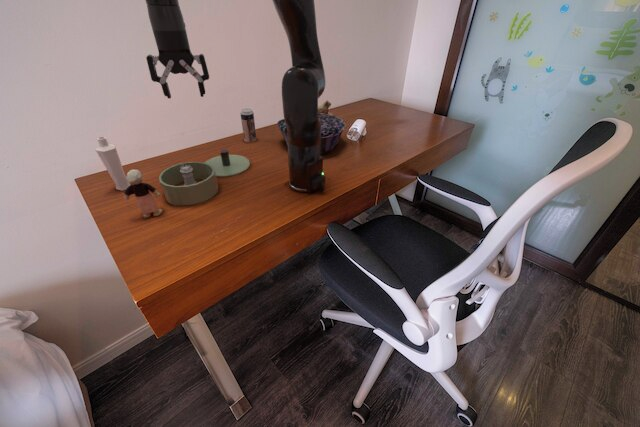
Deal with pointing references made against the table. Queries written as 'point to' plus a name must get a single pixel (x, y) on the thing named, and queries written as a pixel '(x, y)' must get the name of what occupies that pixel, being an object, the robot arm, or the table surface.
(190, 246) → the table surface
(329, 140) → the decorative bowl
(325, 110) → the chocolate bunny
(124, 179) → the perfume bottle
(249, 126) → the beer can
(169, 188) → the pot
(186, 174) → the rook chess piece
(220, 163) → the pot lid
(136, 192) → the grandmother figurine
